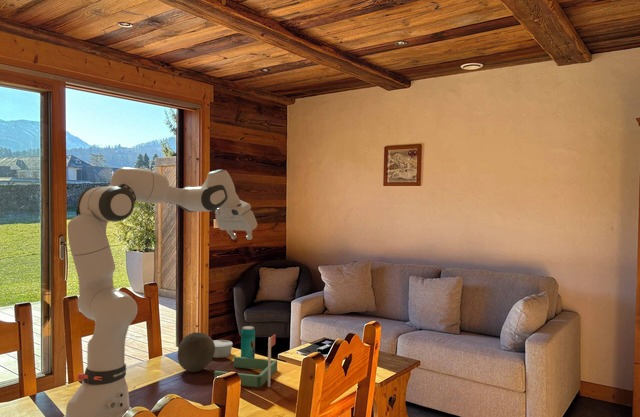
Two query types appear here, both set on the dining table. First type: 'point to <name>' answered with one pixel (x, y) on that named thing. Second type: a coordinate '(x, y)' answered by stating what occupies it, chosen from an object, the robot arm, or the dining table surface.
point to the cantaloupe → (195, 351)
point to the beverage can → (248, 342)
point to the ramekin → (222, 348)
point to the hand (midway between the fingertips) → (242, 238)
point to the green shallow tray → (253, 363)
